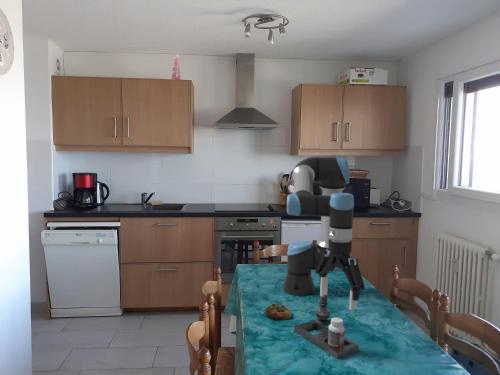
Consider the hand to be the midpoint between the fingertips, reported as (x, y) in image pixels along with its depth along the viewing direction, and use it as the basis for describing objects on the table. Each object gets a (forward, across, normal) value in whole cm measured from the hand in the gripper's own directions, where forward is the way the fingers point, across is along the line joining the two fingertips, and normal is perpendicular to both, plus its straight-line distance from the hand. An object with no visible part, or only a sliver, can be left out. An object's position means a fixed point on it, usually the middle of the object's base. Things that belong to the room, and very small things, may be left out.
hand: (337, 301), depth 127 cm
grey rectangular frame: (+16, -5, 0) cm, 17 cm away
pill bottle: (+16, 0, 0) cm, 16 cm away
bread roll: (+17, -31, -2) cm, 35 cm away
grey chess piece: (+16, -17, +10) cm, 25 cm away
